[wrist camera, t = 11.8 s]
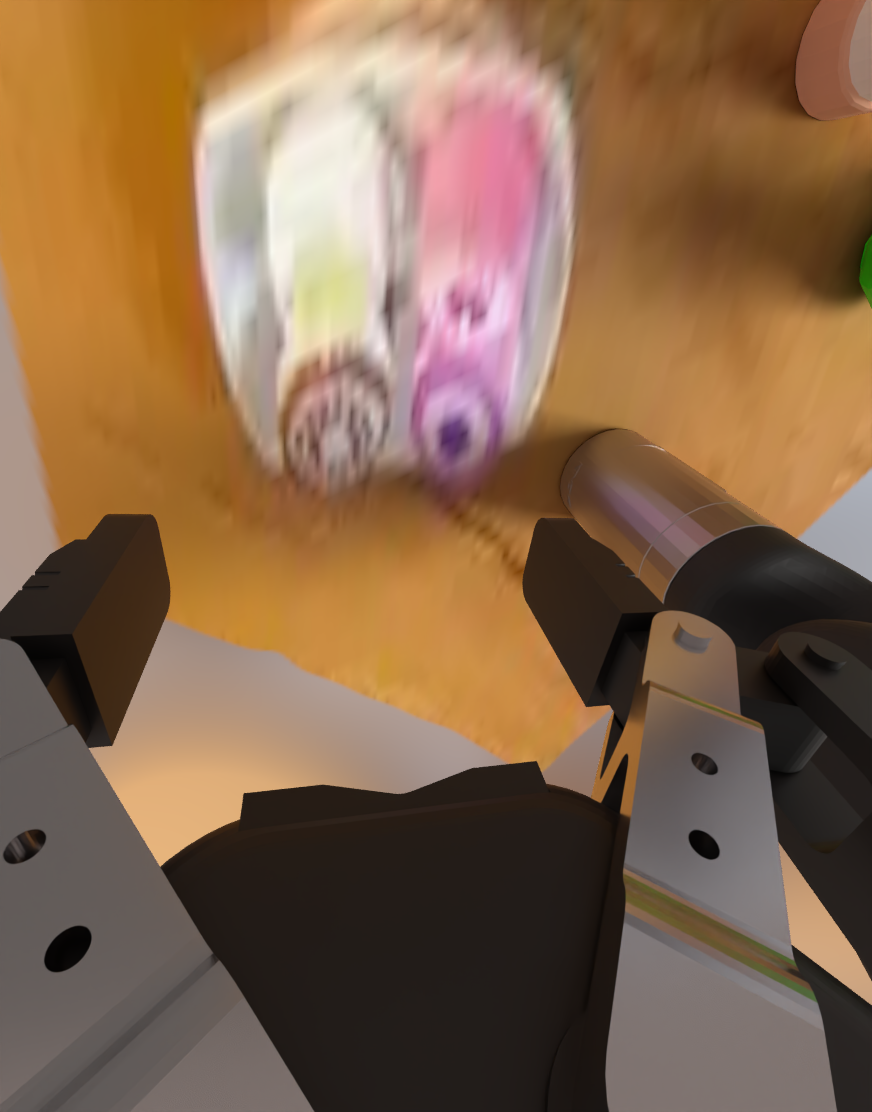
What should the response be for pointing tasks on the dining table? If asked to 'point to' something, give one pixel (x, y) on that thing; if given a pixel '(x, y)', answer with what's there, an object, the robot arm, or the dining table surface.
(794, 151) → the dining table surface
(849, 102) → the salt shaker
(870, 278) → the plastic bottle
